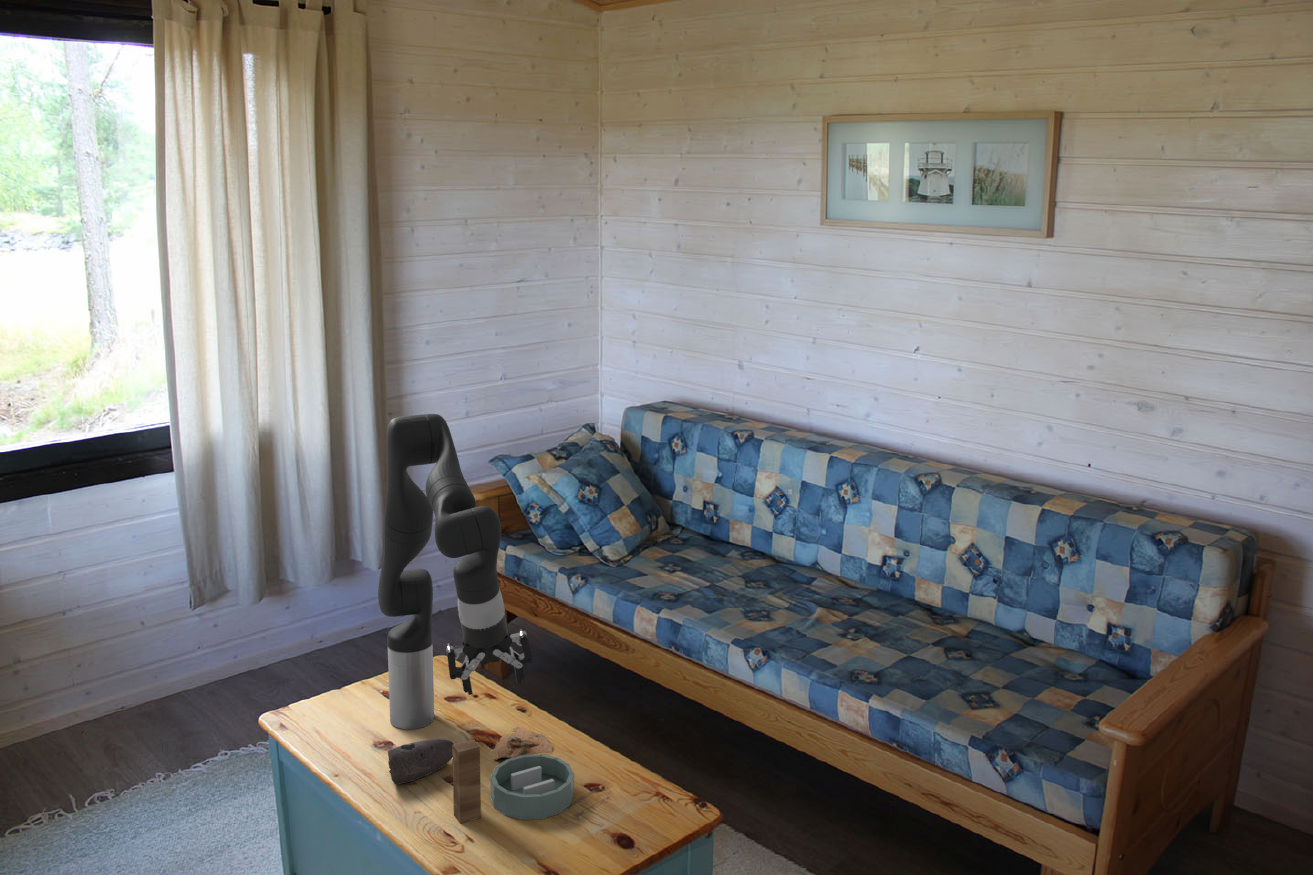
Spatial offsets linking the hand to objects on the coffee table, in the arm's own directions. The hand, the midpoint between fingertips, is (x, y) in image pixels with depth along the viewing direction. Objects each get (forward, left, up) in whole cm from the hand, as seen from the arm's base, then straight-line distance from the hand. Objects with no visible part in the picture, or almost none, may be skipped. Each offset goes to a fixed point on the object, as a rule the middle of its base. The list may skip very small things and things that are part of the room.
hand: (494, 686), depth 189 cm
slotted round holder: (-3, +9, -26) cm, 28 cm away
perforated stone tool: (-21, -6, -26) cm, 34 cm away
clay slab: (-22, +14, -27) cm, 37 cm away
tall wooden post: (-3, -4, -26) cm, 26 cm away
